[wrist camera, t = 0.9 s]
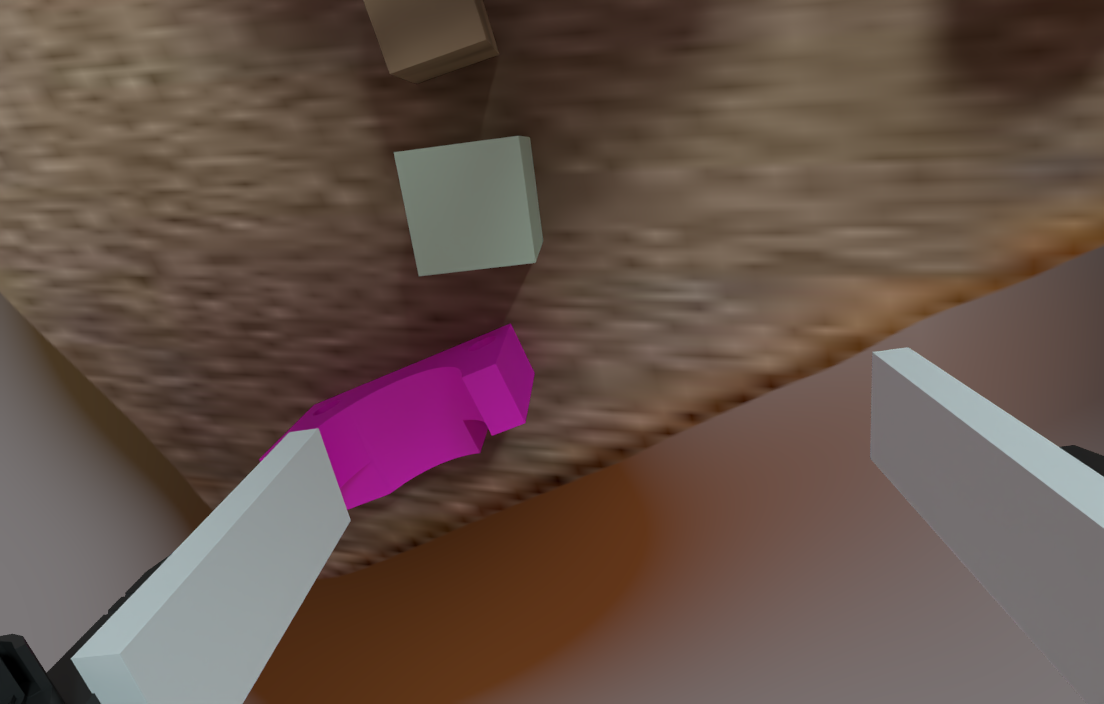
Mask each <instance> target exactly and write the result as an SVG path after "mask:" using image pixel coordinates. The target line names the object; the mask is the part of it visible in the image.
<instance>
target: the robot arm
mask: <svg viewBox="0 0 1104 704" xmlns="http://www.w3.org/2000/svg"><path fill="white" fill-rule="evenodd" d="M871 397H872V399H871V446H870V447H871V448H870V452H871V453H870V459H871V460H872V461H873V462H874V463H875V464H876V465H877V467H878V468H879V469H880V470H881V471H882V472H883V474H884V475H885V476H886V477H887V478H888V479H889V480H890V481H891V482H892V484H893V485H894V486H895V487H896V488H897V489H898V490H899V492H900V493H901V494H902V495H903V496H904V497H905V498H906V500H907V501H908V502H909V503H910V504H911V505H912V506H913V507H914V508H915V510H916V511H917V512H918V513H919V514H920V515H921V516H922V518H923V519H924V520H925V521H926V522H927V523H928V525H929V526H930V527H931V528H932V529H933V530H934V531H935V532H936V534H937V535H938V536H939V537H940V538H941V539H942V540H943V541H944V543H945V544H946V545H947V546H948V547H949V548H950V549H951V550H952V552H953V553H954V554H955V555H956V556H957V557H958V559H959V560H960V561H961V562H962V563H963V564H964V565H965V566H966V567H967V569H968V570H969V571H970V572H971V573H972V574H973V576H974V577H975V578H976V579H977V580H978V581H979V582H980V583H981V585H982V586H983V587H984V588H985V589H986V590H987V591H988V593H989V594H990V595H991V596H992V597H993V598H994V599H995V600H996V602H997V603H998V604H999V605H1000V606H1001V607H1002V608H1003V610H1004V611H1005V612H1006V613H1007V614H1008V615H1009V616H1010V618H1011V619H1012V620H1013V621H1014V622H1015V623H1016V624H1017V625H1018V627H1019V628H1020V629H1021V630H1022V631H1023V632H1024V633H1025V635H1026V636H1027V637H1028V638H1029V639H1030V640H1031V641H1032V642H1033V643H1034V645H1035V646H1036V647H1037V648H1038V649H1039V650H1040V651H1041V653H1042V654H1043V655H1044V656H1045V657H1046V658H1047V659H1048V661H1049V662H1050V663H1051V664H1052V665H1053V666H1054V667H1055V669H1056V670H1057V671H1058V672H1059V673H1060V674H1061V675H1062V676H1063V677H1064V679H1065V680H1066V681H1067V682H1068V683H1069V684H1070V685H1071V687H1072V688H1073V689H1074V690H1075V691H1076V692H1077V693H1078V695H1079V696H1080V697H1081V698H1082V699H1083V700H1084V701H1085V703H1086V704H1104V456H1102V455H1099V454H1097V453H1094V452H1091V451H1089V450H1086V449H1083V448H1080V447H1078V446H1075V445H1071V446H1063V447H1058V446H1056V445H1055V444H1053V443H1052V442H1050V441H1049V440H1047V439H1046V438H1044V437H1043V436H1041V435H1040V434H1038V433H1037V432H1035V431H1034V430H1032V429H1031V428H1029V427H1028V426H1026V425H1025V424H1023V423H1022V422H1020V421H1019V420H1017V419H1015V418H1014V417H1013V416H1011V415H1010V414H1008V413H1007V412H1005V411H1004V410H1002V409H1001V408H999V407H998V406H996V405H994V404H993V403H992V402H990V401H989V400H987V399H985V398H984V397H982V396H981V395H979V394H978V393H976V392H975V391H973V390H972V389H970V388H969V387H967V386H966V385H964V384H963V383H961V382H960V381H958V380H957V379H955V378H954V377H952V376H951V375H949V374H948V373H946V372H945V371H943V370H942V369H940V368H939V367H937V366H936V365H934V364H933V363H931V362H930V361H928V360H927V359H925V358H924V357H922V356H921V355H919V354H918V353H916V352H914V351H913V350H912V349H910V348H908V347H907V348H900V349H892V350H885V351H878V352H872V396H871ZM350 521H351V520H350V517H349V514H348V511H347V508H346V505H345V503H344V500H343V497H342V494H341V491H340V488H339V485H338V483H337V480H336V477H335V474H334V471H333V468H332V465H331V463H330V460H329V457H328V454H327V451H326V448H325V445H324V443H323V440H322V437H321V434H320V431H319V428H316V429H309V430H302V431H294V432H289V433H288V434H287V435H286V436H285V437H284V438H283V439H282V440H281V441H280V442H279V443H278V444H277V446H276V447H275V448H274V449H273V450H272V451H271V452H270V453H269V454H268V455H267V456H266V457H265V458H264V459H263V460H262V461H261V462H260V463H259V464H258V465H257V466H256V467H255V468H254V469H253V470H252V471H251V472H250V473H249V475H248V476H247V477H246V478H245V479H244V480H243V481H242V482H241V483H240V484H239V485H238V486H237V487H236V488H235V489H234V490H233V491H232V492H231V493H230V494H229V495H228V496H227V497H226V498H225V499H224V500H223V501H222V502H221V503H220V505H219V506H218V507H217V508H216V509H215V510H214V511H213V512H212V513H211V514H210V515H209V516H208V517H207V518H206V519H205V520H204V521H203V522H202V523H201V524H200V525H199V526H198V527H197V528H196V529H195V530H194V531H193V532H192V534H191V535H190V536H189V537H188V538H187V539H186V540H185V541H184V542H183V543H182V544H181V545H180V546H179V547H178V548H177V549H176V550H175V551H174V552H173V553H172V554H171V555H169V556H168V557H166V558H165V559H164V560H162V561H161V562H159V563H158V564H157V565H155V566H154V567H153V568H151V569H149V570H148V571H147V572H146V573H144V575H142V577H141V578H140V579H139V580H138V581H137V582H136V583H135V584H134V585H133V586H132V587H131V588H130V589H129V590H128V591H127V592H126V595H125V597H121V598H120V599H119V600H118V601H117V602H116V603H115V604H114V605H113V606H112V607H111V608H110V609H109V610H108V614H107V615H103V616H102V617H101V618H100V619H99V620H98V621H97V622H96V623H95V624H94V625H93V626H92V627H91V628H90V629H89V630H88V631H87V632H86V633H85V634H84V635H83V637H81V638H80V640H79V641H77V643H76V644H75V645H74V646H73V647H72V648H71V649H70V650H69V651H68V652H67V653H66V654H65V655H64V656H63V657H62V658H61V659H60V660H59V661H58V662H57V663H56V664H55V665H54V666H53V667H52V668H51V669H50V670H49V671H48V672H47V673H46V672H45V670H44V669H43V667H42V665H41V664H40V663H39V661H38V659H37V658H36V656H35V654H34V653H33V651H32V650H31V648H30V647H29V645H28V644H27V642H26V640H25V639H24V637H23V636H20V635H15V634H9V635H4V636H0V704H243V702H244V700H245V699H246V697H247V695H248V694H249V691H250V690H251V689H252V687H253V685H254V683H255V682H256V680H257V678H258V677H259V675H260V673H261V672H262V670H263V668H264V666H265V665H266V663H267V661H268V660H269V658H270V656H271V655H272V653H273V651H274V650H275V648H276V646H277V644H278V643H279V641H280V639H281V638H282V636H283V634H284V633H285V631H286V629H287V628H288V626H289V624H290V622H291V621H292V619H293V617H294V616H295V614H296V612H297V611H298V609H299V607H300V605H301V604H302V602H303V600H304V598H305V597H306V595H307V594H308V592H309V590H310V588H311V587H312V585H313V583H314V582H315V580H316V578H317V577H318V575H319V573H320V572H321V570H322V568H323V567H324V565H325V563H326V561H327V560H328V558H329V556H330V555H331V553H332V551H333V550H334V548H335V546H336V544H337V543H338V541H339V539H340V538H341V536H342V534H343V533H344V531H345V529H346V528H347V526H348V524H349V522H350Z"/></svg>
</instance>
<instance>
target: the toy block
mask: <svg viewBox="0 0 1104 704" xmlns="http://www.w3.org/2000/svg"><path fill="white" fill-rule="evenodd" d="M534 374H535V373H534V371H533V369H532V367H531V365H530V362H529V360H528V358H527V356H526V354H525V352H524V350H523V348H522V346H521V344H520V342H519V339H518V337H517V335H516V333H515V331H514V329H513V327H512V325H511V323H510V324H508V325H506V326H503V327H501V328H498V329H496V330H494V331H491V332H489V333H486V334H484V335H481V336H479V337H477V338H474V339H472V340H469V341H467V342H465V343H462V344H460V345H457V346H455V347H453V348H450V349H448V350H445V351H443V352H440V353H438V354H436V355H433V356H431V357H428V358H426V359H424V360H421V361H419V362H416V363H414V364H412V365H409V366H407V367H404V368H402V369H399V370H397V371H395V372H392V373H390V374H387V375H385V376H383V377H380V378H378V379H375V380H373V381H371V382H368V383H366V384H363V385H361V386H358V387H356V388H354V389H351V390H349V391H346V392H344V393H342V394H339V395H337V396H334V397H332V398H330V399H327V400H325V401H322V402H320V403H317V404H315V405H313V406H312V407H311V408H310V409H309V410H308V411H307V412H306V413H305V414H304V415H303V416H302V417H301V418H300V419H299V420H298V421H297V422H296V423H295V424H294V425H293V426H292V427H291V428H290V429H289V430H288V431H287V432H286V433H285V434H284V435H283V436H282V437H281V438H280V439H279V440H278V441H277V442H276V443H275V444H274V445H273V446H272V447H271V448H270V449H269V450H268V451H267V452H266V453H265V454H264V455H263V456H262V457H261V458H260V459H259V460H260V462H261V461H262V460H263V459H264V458H265V457H266V456H267V455H268V454H269V453H270V452H271V451H272V450H273V449H274V448H275V447H276V446H277V444H278V443H279V442H280V441H281V440H282V439H283V438H284V437H285V436H286V435H287V434H288V433H289V432H294V431H302V430H309V429H316V428H319V431H320V434H321V437H322V440H323V443H324V445H325V448H326V451H327V454H328V457H329V460H330V463H331V465H332V468H333V471H334V474H335V477H336V480H337V483H338V485H339V488H340V491H341V494H342V497H343V500H344V503H345V505H346V508H347V510H348V509H351V508H353V507H356V506H359V505H361V504H364V503H367V502H369V501H372V500H375V499H377V498H380V497H383V496H385V495H388V494H390V493H392V492H393V491H394V490H396V489H397V488H399V487H400V486H402V485H403V484H404V483H406V482H408V481H409V480H411V479H412V478H414V477H416V476H417V475H419V474H421V473H423V472H425V471H427V470H429V469H431V468H433V467H435V466H437V465H439V464H442V463H444V462H447V461H449V460H452V459H455V458H458V457H462V456H466V455H471V454H477V453H480V452H481V449H482V446H483V443H484V440H485V437H486V433H487V430H488V429H489V431H490V433H491V435H492V436H493V435H496V434H498V433H501V432H503V431H506V430H509V429H511V428H514V427H517V426H519V425H522V424H524V423H526V417H527V412H528V407H529V401H530V396H531V390H532V385H533V380H534ZM485 423H486V424H485ZM486 425H487V426H486ZM487 427H488V428H487Z"/></svg>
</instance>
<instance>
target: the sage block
mask: <svg viewBox="0 0 1104 704" xmlns="http://www.w3.org/2000/svg"><path fill="white" fill-rule="evenodd" d="M394 157H395V161H396V166H397V171H398V176H399V181H400V186H401V191H402V196H403V201H404V206H405V211H406V216H407V221H408V226H409V231H410V236H411V241H412V246H413V250H414V255H415V260H416V265H417V270H418V275H419V276H426V275H435V274H443V273H452V272H461V271H469V270H478V269H486V268H495V267H504V266H512V265H521V264H530V263H536V260H537V258H538V255H539V252H540V249H541V246H542V243H543V235H542V227H541V220H540V212H539V204H538V196H537V188H536V180H535V173H534V165H533V157H532V149H531V141H530V137H524V136H512V137H505V138H497V139H490V140H482V141H475V142H467V143H460V144H452V145H445V146H437V147H430V148H422V149H415V150H407V151H400V152H394Z"/></svg>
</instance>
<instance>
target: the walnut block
mask: <svg viewBox="0 0 1104 704" xmlns="http://www.w3.org/2000/svg"><path fill="white" fill-rule="evenodd" d="M363 1H364V4H365V7H366V10H367V12H368V15H369V18H370V21H371V23H372V26H373V29H374V32H375V35H376V37H377V40H378V43H379V46H380V48H381V51H382V54H383V57H384V60H385V62H386V65H387V68H388V71H389V73H390V74H391V75H393V76H396V77H399V78H401V79H404V80H407V81H409V82H412V83H415V84H417V83H420V82H423V81H426V80H429V79H432V78H435V77H437V76H440V75H443V74H446V73H449V72H452V71H454V70H457V69H460V68H463V67H466V66H469V65H471V64H474V63H477V62H480V61H483V60H486V59H488V58H491V57H494V56H497V55H499V52H498V48H497V45H496V42H495V38H494V35H493V32H492V28H491V25H490V22H489V19H488V15H487V12H486V9H485V5H484V2H483V0H363Z"/></svg>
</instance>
